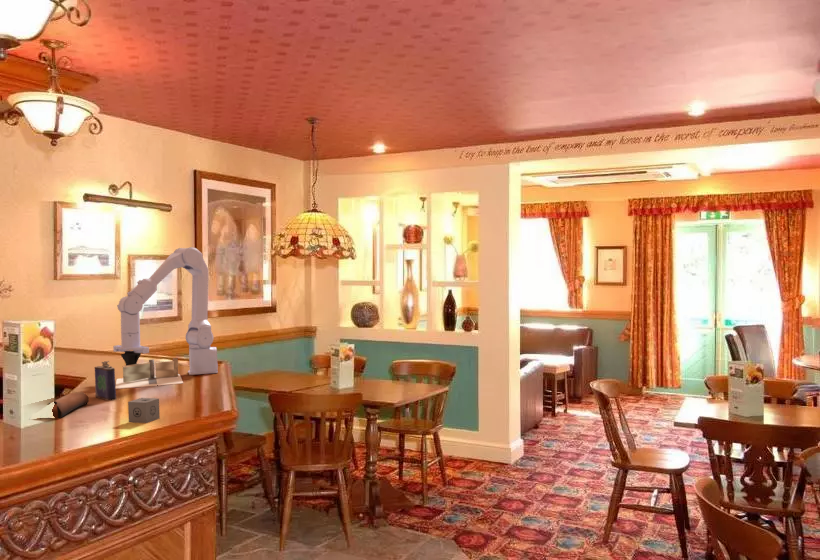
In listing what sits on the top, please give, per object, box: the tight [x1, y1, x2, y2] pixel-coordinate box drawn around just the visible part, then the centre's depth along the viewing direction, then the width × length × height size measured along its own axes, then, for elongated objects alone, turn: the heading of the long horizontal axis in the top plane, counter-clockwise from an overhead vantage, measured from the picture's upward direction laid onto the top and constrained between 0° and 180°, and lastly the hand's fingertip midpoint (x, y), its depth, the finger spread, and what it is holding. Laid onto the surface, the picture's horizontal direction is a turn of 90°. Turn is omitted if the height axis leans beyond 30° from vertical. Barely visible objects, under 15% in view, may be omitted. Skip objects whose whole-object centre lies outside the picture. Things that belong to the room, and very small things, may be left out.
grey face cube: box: [127, 397, 161, 424], centre depth 166 cm, size 5×5×5 cm
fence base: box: [148, 357, 179, 379], centre depth 229 cm, size 9×2×6 cm, turn 112°
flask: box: [94, 360, 117, 401], centre depth 195 cm, size 9×3×11 cm, turn 50°
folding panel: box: [122, 361, 150, 382], centre depth 223 cm, size 10×1×5 cm, turn 151°
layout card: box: [115, 373, 184, 390], centre depth 223 cm, size 20×20×1 cm
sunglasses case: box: [52, 391, 90, 419], centre depth 178 cm, size 18×7×7 cm, turn 5°
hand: (131, 374), depth 223 cm, fingers closed
